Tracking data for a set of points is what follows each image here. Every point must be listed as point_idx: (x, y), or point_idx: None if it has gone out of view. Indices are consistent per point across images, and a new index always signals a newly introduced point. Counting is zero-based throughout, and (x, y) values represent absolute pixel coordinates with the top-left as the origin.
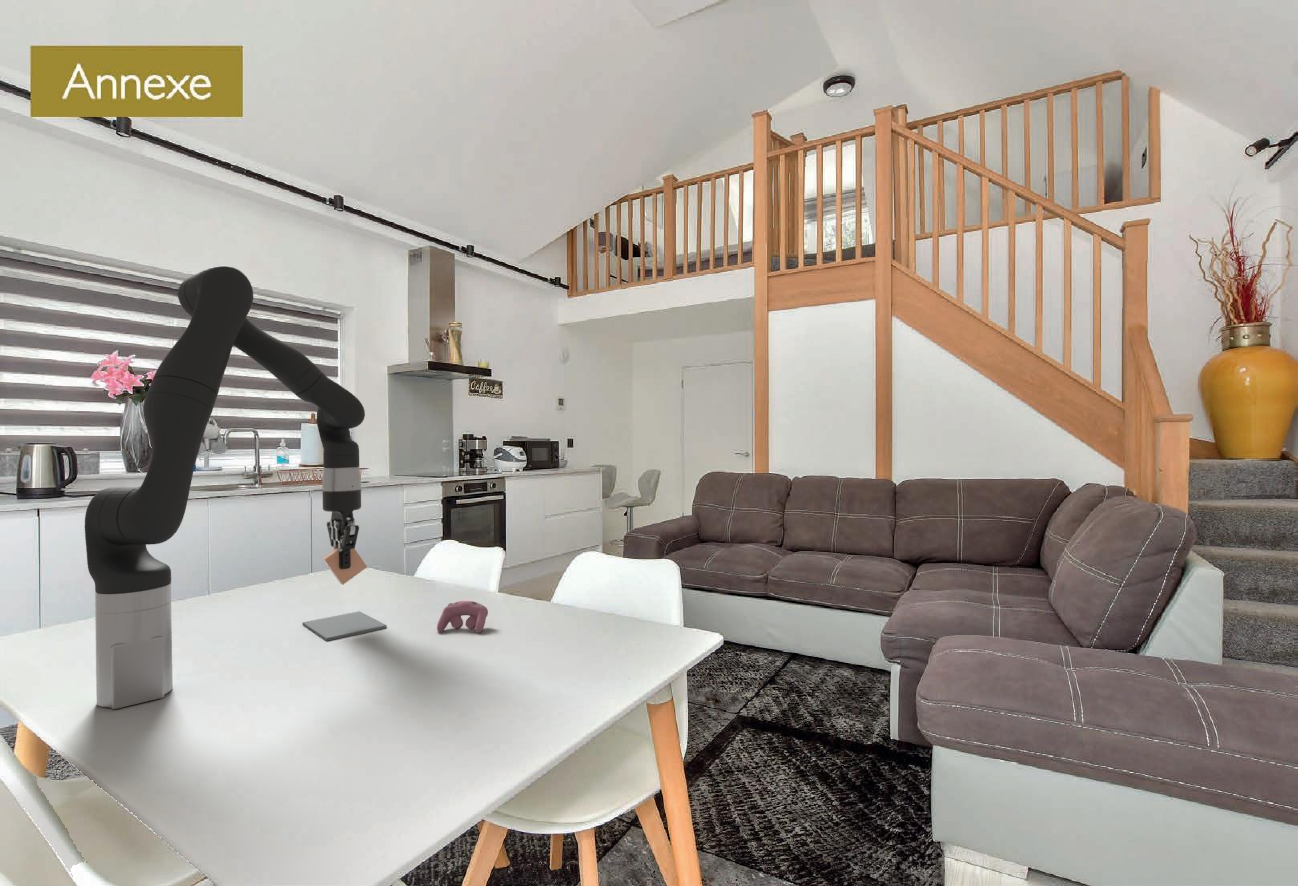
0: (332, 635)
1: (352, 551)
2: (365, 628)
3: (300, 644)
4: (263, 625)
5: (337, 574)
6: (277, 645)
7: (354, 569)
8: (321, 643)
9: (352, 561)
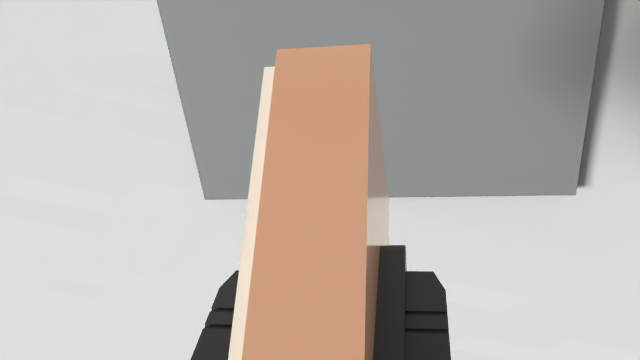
0: (554, 164)
1: (369, 354)
2: (576, 1)
3: (519, 263)
4: (117, 288)
5: None
6: (457, 315)
7: (378, 179)
8: (584, 207)
9: (376, 255)
